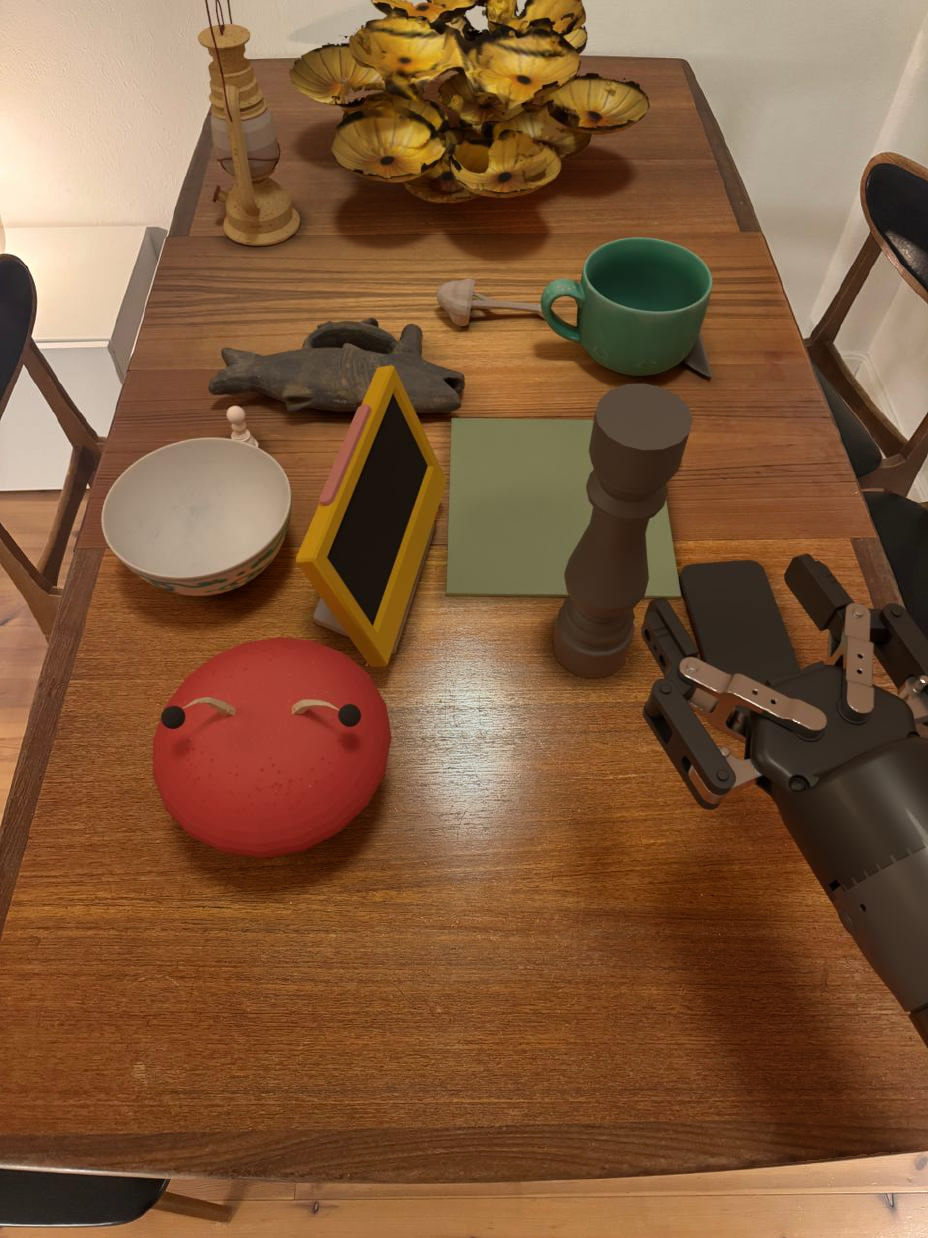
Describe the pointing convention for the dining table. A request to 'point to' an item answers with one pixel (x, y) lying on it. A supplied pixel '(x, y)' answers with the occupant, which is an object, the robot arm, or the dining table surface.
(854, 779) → the robot arm
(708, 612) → the phone
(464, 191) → the mushroom
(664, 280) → the mug
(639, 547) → the candle holder
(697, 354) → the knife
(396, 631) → the yellow framed monitor
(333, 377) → the ceramic vessel
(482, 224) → the dining table surface
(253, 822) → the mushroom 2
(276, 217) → the lantern
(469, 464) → the mat
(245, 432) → the chess pawn
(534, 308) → the mushroom
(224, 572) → the chinaware
